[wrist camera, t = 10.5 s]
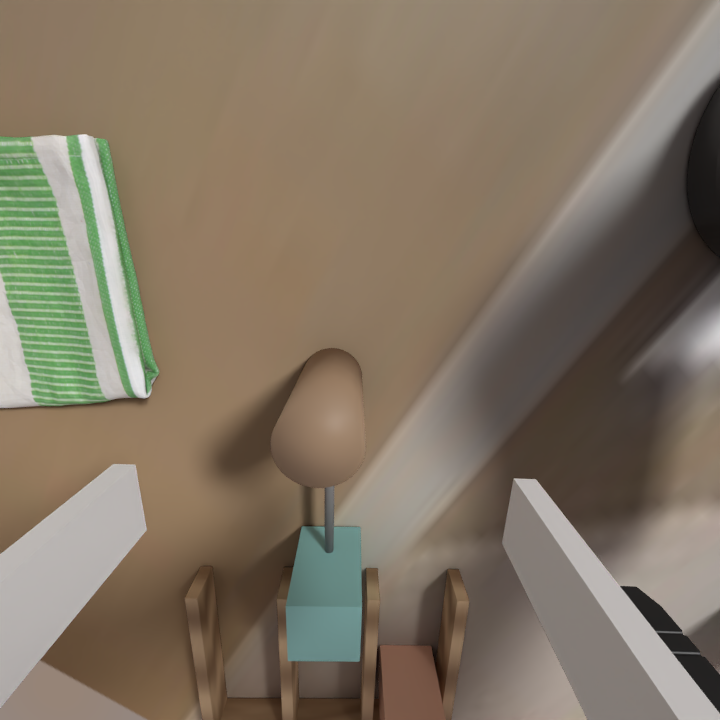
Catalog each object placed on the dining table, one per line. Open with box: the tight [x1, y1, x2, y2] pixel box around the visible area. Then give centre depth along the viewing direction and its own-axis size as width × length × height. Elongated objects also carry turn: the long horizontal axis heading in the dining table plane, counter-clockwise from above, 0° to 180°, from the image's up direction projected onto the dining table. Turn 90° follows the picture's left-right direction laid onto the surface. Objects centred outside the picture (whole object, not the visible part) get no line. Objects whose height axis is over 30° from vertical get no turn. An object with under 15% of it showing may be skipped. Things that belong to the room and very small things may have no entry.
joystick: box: [270, 348, 366, 662], centre depth 23 cm, size 21×5×10 cm, turn 178°
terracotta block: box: [378, 645, 446, 720], centre depth 31 cm, size 5×5×6 cm
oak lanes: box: [185, 566, 470, 720], centre depth 31 cm, size 18×23×3 cm
